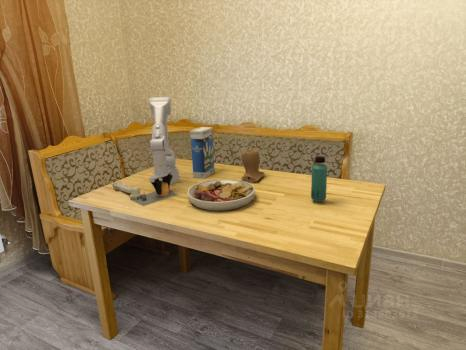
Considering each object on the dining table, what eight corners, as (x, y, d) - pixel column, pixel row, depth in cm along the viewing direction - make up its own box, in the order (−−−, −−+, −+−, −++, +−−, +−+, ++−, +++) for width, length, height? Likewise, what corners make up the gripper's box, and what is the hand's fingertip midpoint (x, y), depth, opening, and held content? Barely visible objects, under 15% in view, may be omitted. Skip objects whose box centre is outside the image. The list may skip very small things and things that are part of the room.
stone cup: (246, 173, 187) (245, 147, 182) (266, 175, 182) (266, 148, 178) (235, 181, 173) (234, 153, 169) (257, 184, 169) (257, 155, 164)
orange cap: (164, 191, 160) (163, 181, 158) (170, 193, 156) (169, 183, 155) (155, 194, 157) (154, 184, 155) (161, 196, 153) (160, 186, 152)
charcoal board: (163, 190, 164) (162, 182, 162) (178, 196, 155) (177, 187, 154) (129, 201, 152) (128, 192, 150) (143, 208, 143) (142, 198, 142)
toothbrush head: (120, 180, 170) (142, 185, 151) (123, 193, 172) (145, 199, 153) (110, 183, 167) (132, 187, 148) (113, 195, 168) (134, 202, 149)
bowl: (209, 185, 170) (208, 170, 167) (264, 193, 157) (264, 177, 154) (174, 207, 144) (173, 190, 142) (237, 218, 131) (237, 199, 129)
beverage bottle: (326, 199, 146) (329, 155, 140) (325, 205, 140) (327, 159, 134) (311, 198, 148) (313, 154, 142) (309, 204, 142) (311, 158, 136)
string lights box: (205, 178, 180) (202, 131, 172) (192, 177, 182) (189, 130, 175) (215, 171, 191) (212, 127, 184) (203, 170, 194) (200, 126, 186)
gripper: (162, 159, 160) (165, 186, 164) (142, 167, 148) (146, 196, 152) (175, 160, 157) (177, 188, 161) (155, 169, 145) (158, 198, 149)
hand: (163, 192), depth 156 cm, fingers closed on orange cap, 5 cm apart
